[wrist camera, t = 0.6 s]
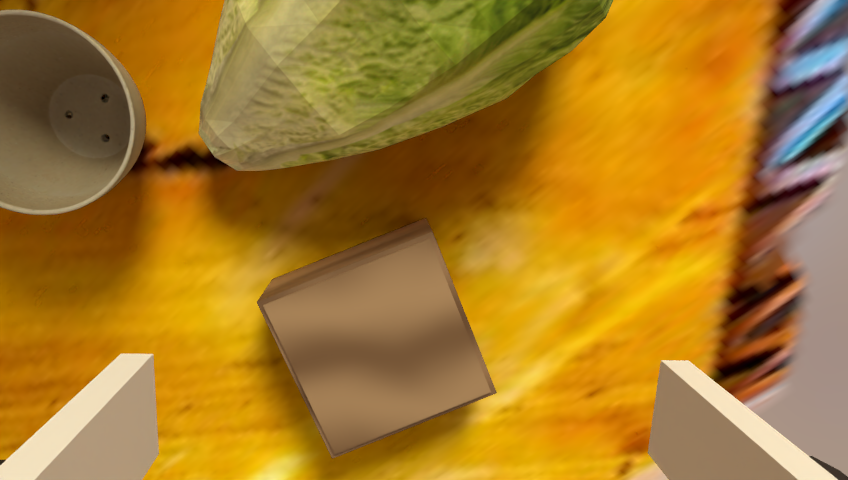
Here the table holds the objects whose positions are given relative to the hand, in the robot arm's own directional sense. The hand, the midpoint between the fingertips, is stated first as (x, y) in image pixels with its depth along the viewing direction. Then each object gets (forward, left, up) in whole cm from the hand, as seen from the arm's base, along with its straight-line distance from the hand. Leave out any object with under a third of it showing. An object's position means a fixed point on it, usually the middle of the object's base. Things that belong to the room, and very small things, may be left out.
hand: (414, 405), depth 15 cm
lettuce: (-13, +4, -24) cm, 28 cm away
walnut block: (+5, -3, -24) cm, 25 cm away
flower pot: (-14, -14, -24) cm, 31 cm away
